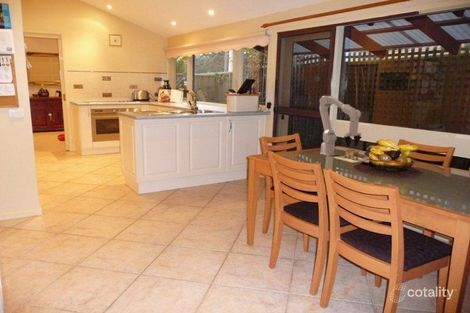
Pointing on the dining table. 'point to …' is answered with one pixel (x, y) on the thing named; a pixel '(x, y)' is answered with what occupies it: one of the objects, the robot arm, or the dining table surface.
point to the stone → (366, 155)
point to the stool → (351, 154)
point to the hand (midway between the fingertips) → (351, 146)
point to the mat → (349, 159)
